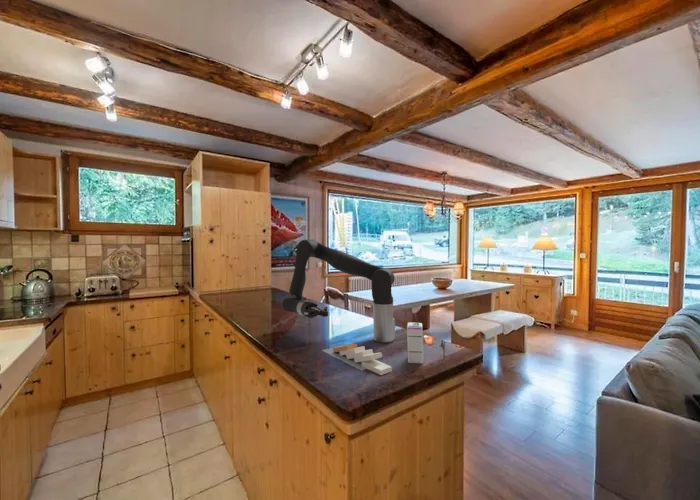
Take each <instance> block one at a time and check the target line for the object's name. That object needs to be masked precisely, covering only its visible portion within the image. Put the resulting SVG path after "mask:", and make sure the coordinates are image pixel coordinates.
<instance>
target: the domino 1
mask: <svg viewBox="0 0 700 500" xmlns="http://www.w3.org/2000/svg"><path fill="white" fill-rule="evenodd" d="M339 346H340V347H337V346H335V347H336V348H333V347H332V348H333V352H339V351H345V350H349V349H353V348H357V347H358V343H350V344H346V345H339Z"/></svg>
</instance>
